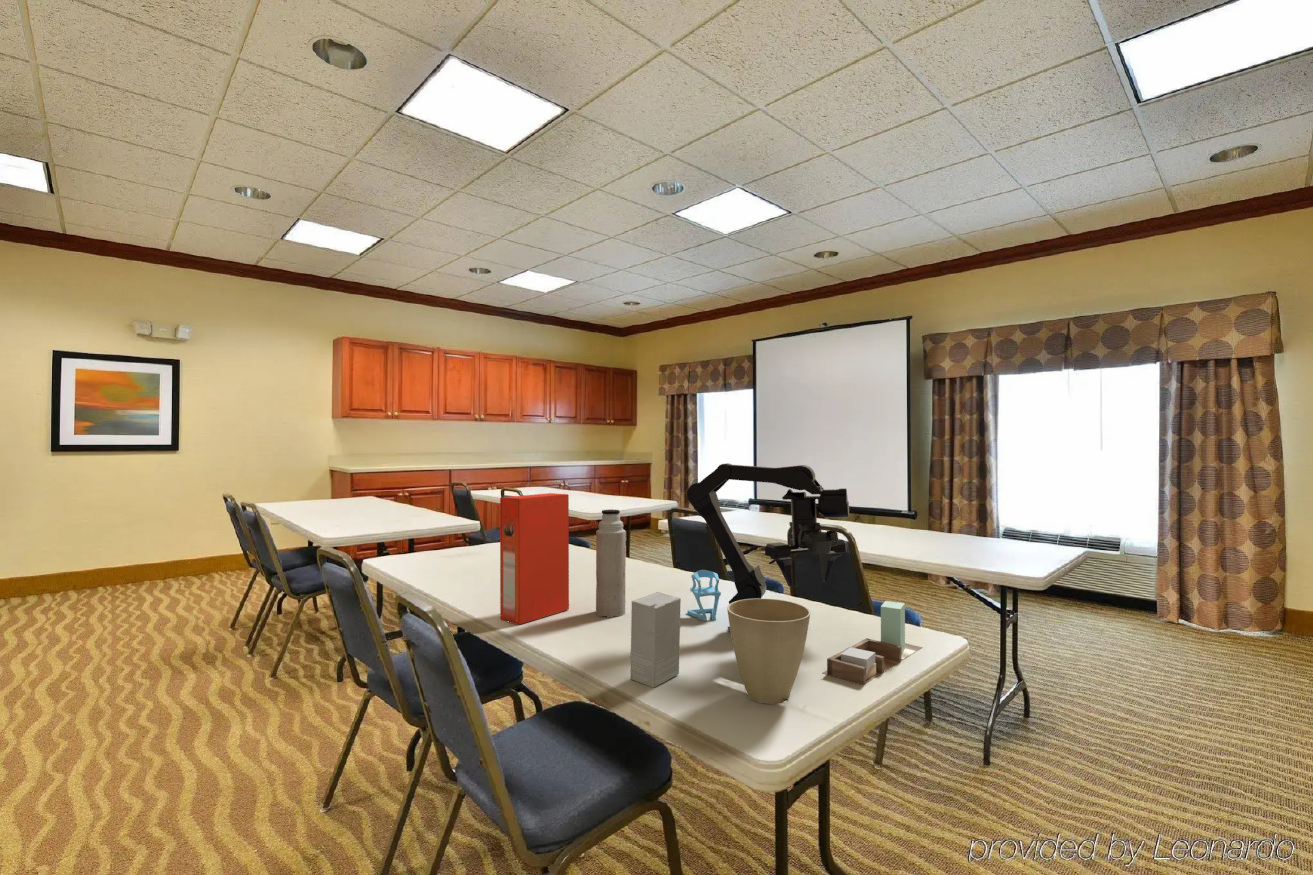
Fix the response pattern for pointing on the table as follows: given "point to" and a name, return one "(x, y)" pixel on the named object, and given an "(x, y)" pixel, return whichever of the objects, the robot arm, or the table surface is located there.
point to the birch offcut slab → (871, 671)
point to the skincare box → (655, 638)
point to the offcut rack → (884, 660)
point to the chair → (704, 594)
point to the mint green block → (893, 623)
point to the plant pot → (768, 645)
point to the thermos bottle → (610, 565)
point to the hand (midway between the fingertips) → (807, 584)
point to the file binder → (534, 556)
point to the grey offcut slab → (858, 657)
